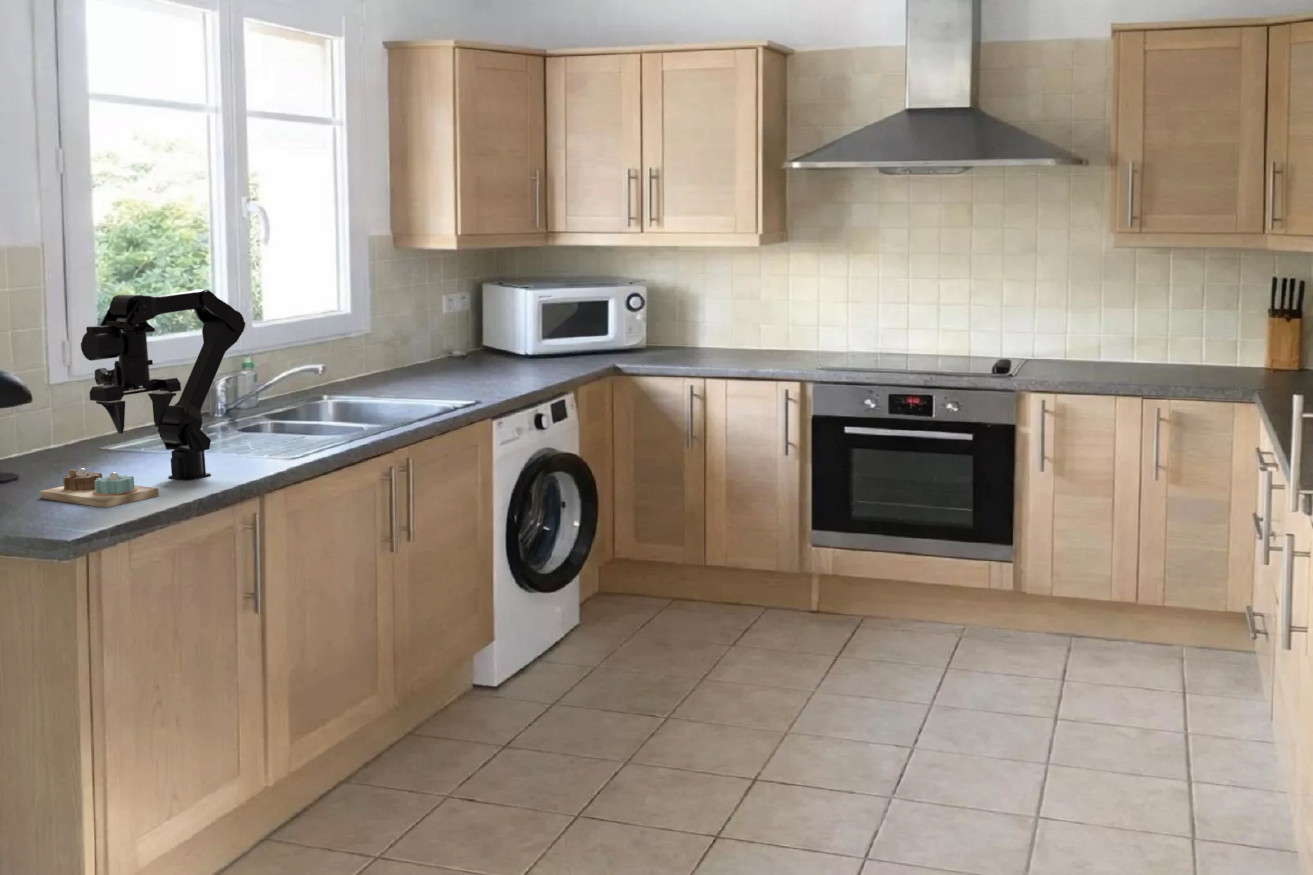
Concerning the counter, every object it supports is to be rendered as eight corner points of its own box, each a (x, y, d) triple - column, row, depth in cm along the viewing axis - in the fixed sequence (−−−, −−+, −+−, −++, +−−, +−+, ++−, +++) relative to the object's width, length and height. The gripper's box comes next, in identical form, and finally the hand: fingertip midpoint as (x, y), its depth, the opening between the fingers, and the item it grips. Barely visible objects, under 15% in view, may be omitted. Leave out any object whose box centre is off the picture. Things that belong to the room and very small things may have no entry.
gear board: (95, 486, 301) (95, 478, 301) (158, 495, 291) (158, 487, 290) (40, 498, 290) (40, 489, 290) (104, 507, 280) (103, 498, 279)
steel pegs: (84, 486, 294) (82, 467, 293) (121, 491, 288) (119, 471, 287) (77, 487, 293) (76, 468, 292) (114, 492, 286) (112, 473, 286)
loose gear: (118, 486, 292) (117, 474, 292) (141, 489, 289) (140, 477, 288) (88, 492, 286) (87, 480, 286) (111, 495, 283) (110, 483, 282)
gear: (87, 482, 298) (85, 463, 297) (109, 485, 294) (108, 466, 293) (57, 488, 292) (55, 469, 291) (79, 492, 288) (77, 472, 287)
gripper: (144, 349, 308) (150, 421, 311) (69, 358, 292) (75, 434, 295) (179, 351, 302) (185, 424, 305) (104, 360, 287) (111, 437, 289)
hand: (139, 430), depth 299 cm, fingers open, 9 cm apart
